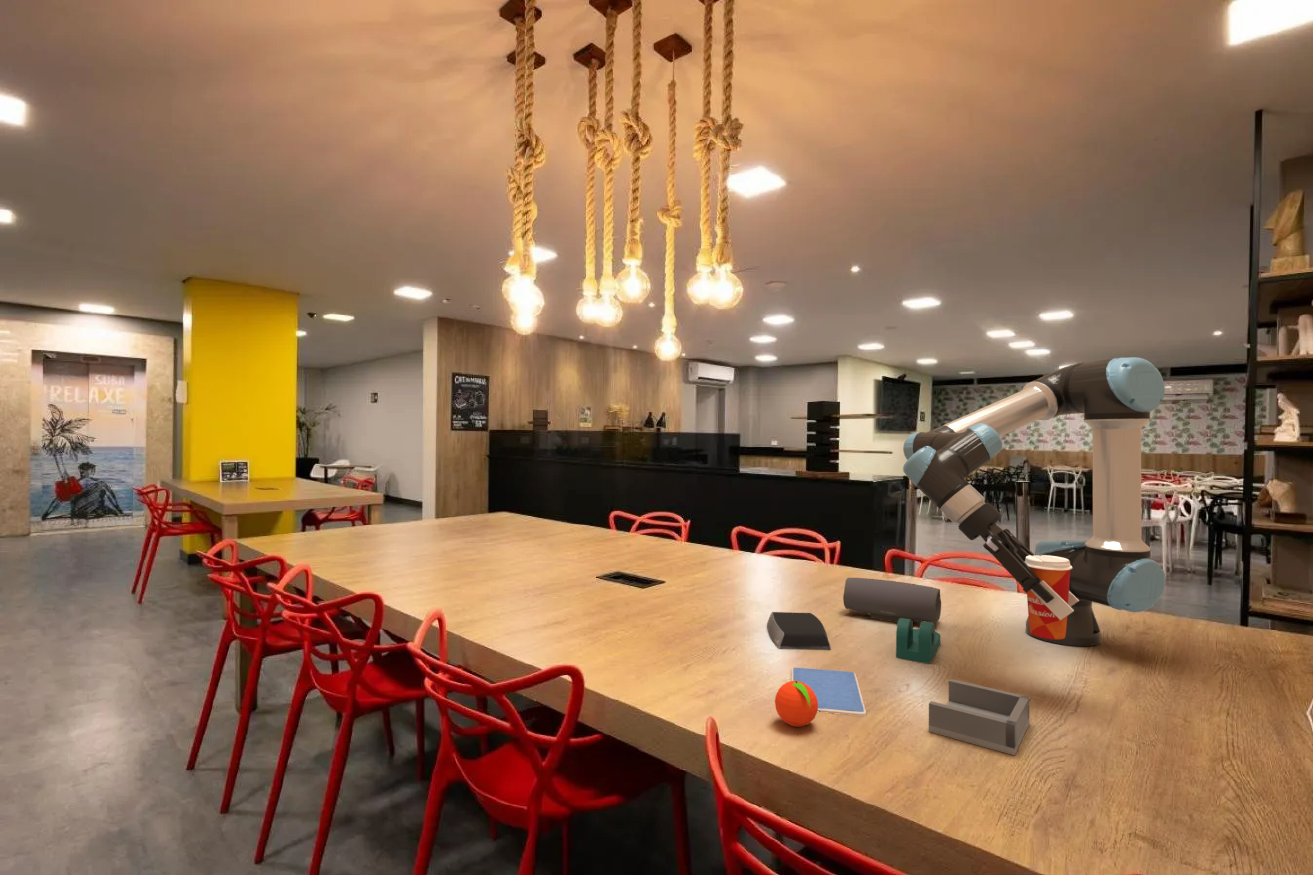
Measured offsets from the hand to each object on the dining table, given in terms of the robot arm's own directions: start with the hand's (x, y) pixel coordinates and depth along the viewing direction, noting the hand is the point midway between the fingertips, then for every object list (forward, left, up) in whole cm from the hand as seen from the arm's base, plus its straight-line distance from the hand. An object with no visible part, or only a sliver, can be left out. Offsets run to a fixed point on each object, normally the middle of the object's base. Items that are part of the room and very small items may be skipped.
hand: (1069, 609), depth 114 cm
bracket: (+18, -27, -17) cm, 36 cm away
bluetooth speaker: (+18, -50, -17) cm, 56 cm away
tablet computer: (+43, 0, -17) cm, 46 cm away
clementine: (+50, +15, -17) cm, 55 cm away
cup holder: (+21, +12, -17) cm, 29 cm away
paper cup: (+3, -2, -5) cm, 6 cm away
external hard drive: (+44, -33, -17) cm, 57 cm away
